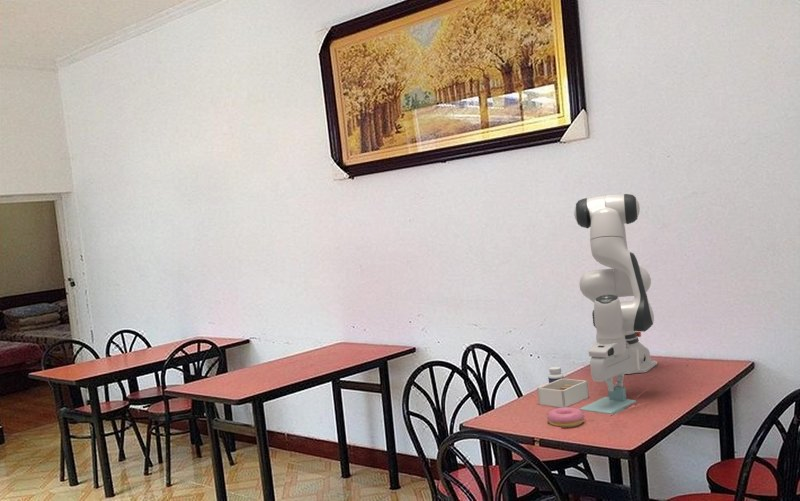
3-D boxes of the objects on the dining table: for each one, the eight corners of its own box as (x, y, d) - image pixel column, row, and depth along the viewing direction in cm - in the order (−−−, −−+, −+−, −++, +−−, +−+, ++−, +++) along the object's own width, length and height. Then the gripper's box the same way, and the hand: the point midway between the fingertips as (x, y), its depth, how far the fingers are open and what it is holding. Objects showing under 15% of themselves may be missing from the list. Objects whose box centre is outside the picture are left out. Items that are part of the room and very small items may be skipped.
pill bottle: (565, 394, 244) (562, 369, 244) (550, 395, 245) (547, 370, 245) (565, 390, 249) (562, 365, 249) (549, 391, 250) (547, 366, 250)
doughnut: (562, 431, 205) (560, 417, 205) (540, 423, 215) (538, 410, 215) (592, 423, 209) (591, 409, 209) (569, 416, 219) (568, 402, 219)
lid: (605, 399, 232) (603, 384, 232) (636, 403, 224) (634, 387, 224) (579, 411, 222) (577, 396, 222) (610, 416, 214) (609, 400, 214)
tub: (563, 395, 243) (562, 378, 243) (589, 398, 235) (587, 380, 235) (539, 406, 234) (537, 388, 233) (564, 409, 226) (562, 391, 226)
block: (566, 396, 239) (565, 384, 239) (577, 397, 237) (576, 385, 237) (561, 399, 236) (559, 387, 236) (572, 400, 234) (571, 388, 234)
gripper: (619, 339, 235) (623, 380, 236) (585, 352, 222) (589, 395, 222) (637, 340, 231) (641, 382, 231) (602, 353, 217) (607, 398, 217)
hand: (615, 389), depth 227 cm, fingers open, 3 cm apart
